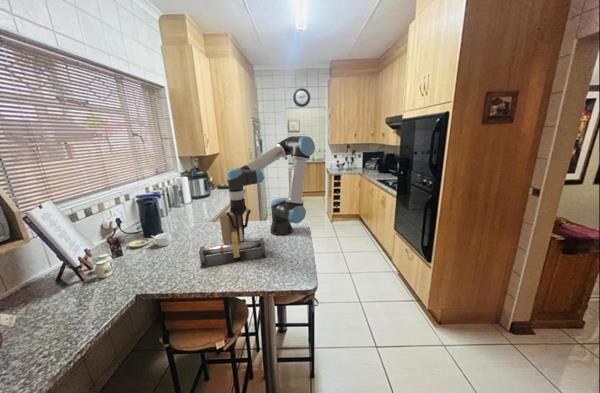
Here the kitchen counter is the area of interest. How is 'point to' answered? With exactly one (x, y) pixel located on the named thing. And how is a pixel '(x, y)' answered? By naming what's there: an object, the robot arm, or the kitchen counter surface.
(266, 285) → the kitchen counter surface
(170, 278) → the kitchen counter surface
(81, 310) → the kitchen counter surface
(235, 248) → the collar
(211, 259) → the pipe rig
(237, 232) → the robot arm
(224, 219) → the wooden block
